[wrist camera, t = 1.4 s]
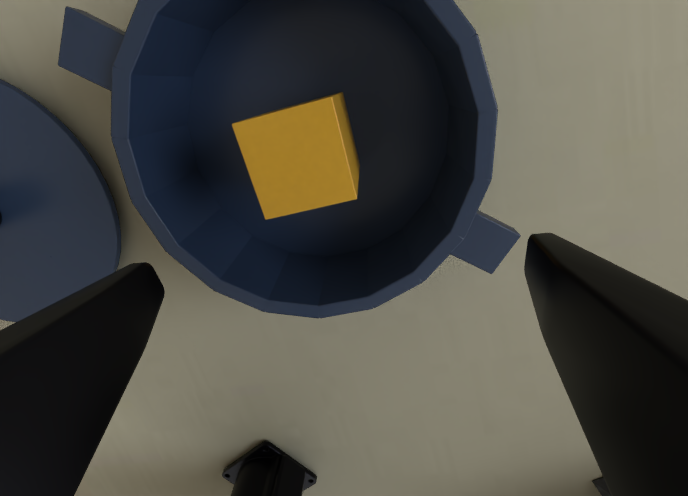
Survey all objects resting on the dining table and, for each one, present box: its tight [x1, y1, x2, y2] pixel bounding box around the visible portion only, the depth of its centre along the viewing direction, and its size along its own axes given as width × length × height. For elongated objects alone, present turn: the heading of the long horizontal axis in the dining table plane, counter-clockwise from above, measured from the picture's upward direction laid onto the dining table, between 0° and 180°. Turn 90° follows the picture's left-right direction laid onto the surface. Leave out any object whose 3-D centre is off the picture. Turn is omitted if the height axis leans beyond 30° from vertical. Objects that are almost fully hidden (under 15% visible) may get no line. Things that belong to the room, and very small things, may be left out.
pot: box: [58, 0, 520, 318], centre depth 19 cm, size 17×22×6 cm
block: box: [232, 92, 360, 220], centre depth 19 cm, size 4×4×7 cm
